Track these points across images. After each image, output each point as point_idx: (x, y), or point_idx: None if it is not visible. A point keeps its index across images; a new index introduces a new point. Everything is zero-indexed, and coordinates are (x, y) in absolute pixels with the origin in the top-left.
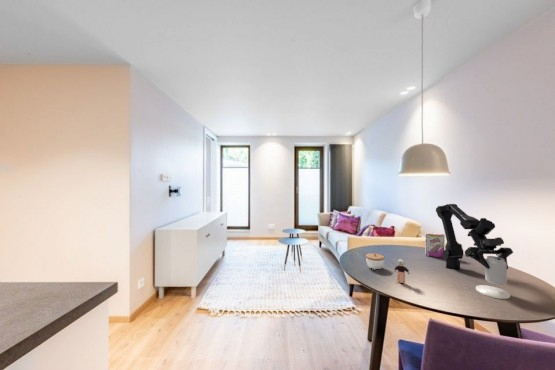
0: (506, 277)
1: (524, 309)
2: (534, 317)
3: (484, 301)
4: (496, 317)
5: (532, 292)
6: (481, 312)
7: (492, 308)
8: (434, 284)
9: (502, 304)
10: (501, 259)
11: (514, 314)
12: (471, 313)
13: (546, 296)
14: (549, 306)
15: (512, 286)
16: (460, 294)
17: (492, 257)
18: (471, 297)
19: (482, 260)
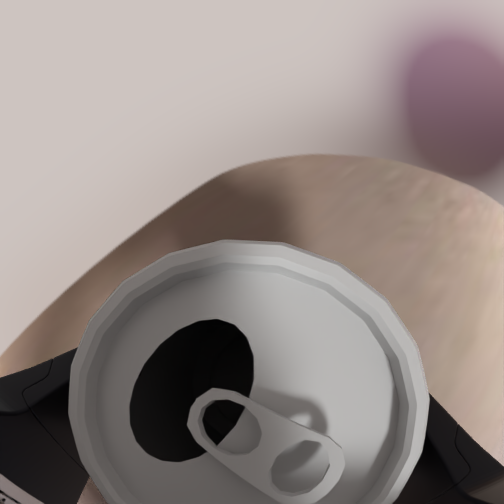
0: (210, 320)
1: (286, 205)
2: (306, 158)
3: (409, 279)
4: (432, 172)
5: (72, 348)
6: (460, 201)
7: (414, 220)
8: (489, 442)
9: (349, 249)
10: (119, 373)
11: (363, 178)
12: (484, 200)
13: (62, 305)
14: (146, 226)
15: None
16: (463, 347)
17: (275, 488)
18: (438, 318)
19: (457, 442)
